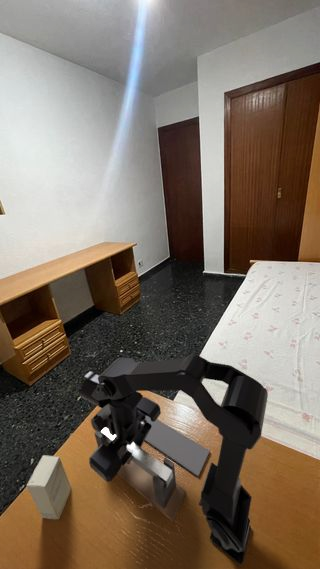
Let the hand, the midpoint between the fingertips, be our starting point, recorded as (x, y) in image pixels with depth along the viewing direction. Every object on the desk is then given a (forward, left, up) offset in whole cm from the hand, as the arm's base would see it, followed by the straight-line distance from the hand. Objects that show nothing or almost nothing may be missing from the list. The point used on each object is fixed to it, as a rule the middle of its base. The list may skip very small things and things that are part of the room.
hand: (133, 456), depth 56 cm
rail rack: (0, 0, -6) cm, 6 cm away
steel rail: (0, 0, +1) cm, 1 cm away
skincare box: (+12, +15, -7) cm, 20 cm away
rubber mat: (0, -11, -6) cm, 13 cm away
